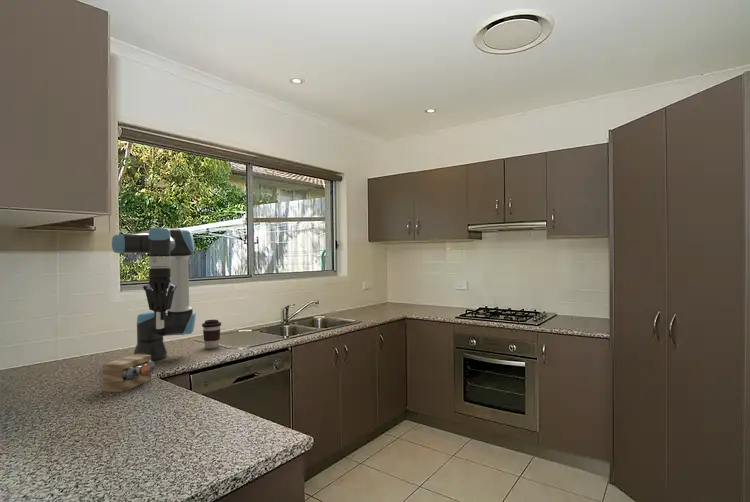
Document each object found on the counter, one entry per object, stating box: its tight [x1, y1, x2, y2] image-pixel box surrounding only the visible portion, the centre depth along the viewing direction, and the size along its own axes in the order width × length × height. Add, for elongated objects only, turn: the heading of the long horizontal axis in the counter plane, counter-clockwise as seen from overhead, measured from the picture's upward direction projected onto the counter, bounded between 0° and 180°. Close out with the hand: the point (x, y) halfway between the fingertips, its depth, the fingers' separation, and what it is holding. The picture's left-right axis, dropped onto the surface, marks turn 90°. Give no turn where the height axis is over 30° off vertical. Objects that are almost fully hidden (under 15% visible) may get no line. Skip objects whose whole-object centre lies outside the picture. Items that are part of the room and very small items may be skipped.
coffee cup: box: [201, 319, 222, 350], centre depth 232 cm, size 10×10×15 cm
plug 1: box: [97, 368, 136, 380], centre depth 159 cm, size 5×13×5 cm, turn 81°
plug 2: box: [143, 360, 155, 373], centre depth 169 cm, size 5×13×5 cm, turn 81°
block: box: [102, 354, 152, 393], centre depth 164 cm, size 16×8×10 cm, turn 171°
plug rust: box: [133, 364, 150, 376], centre depth 164 cm, size 5×13×5 cm, turn 81°
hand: (160, 328), depth 162 cm, fingers closed
